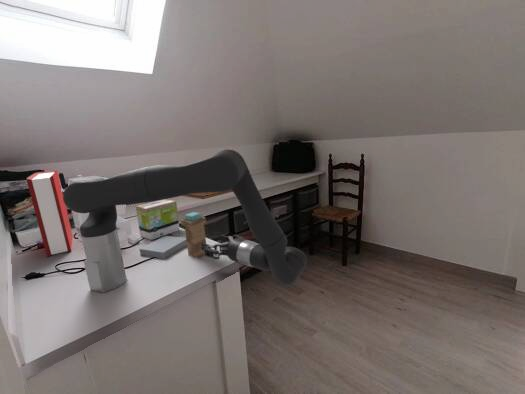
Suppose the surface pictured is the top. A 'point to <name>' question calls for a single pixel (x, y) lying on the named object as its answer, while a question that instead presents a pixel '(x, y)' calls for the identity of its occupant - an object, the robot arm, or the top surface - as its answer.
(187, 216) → the teal block
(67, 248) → the book
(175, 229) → the tea box
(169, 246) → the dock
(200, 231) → the wooden pedestal column
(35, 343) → the top surface
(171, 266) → the top surface
